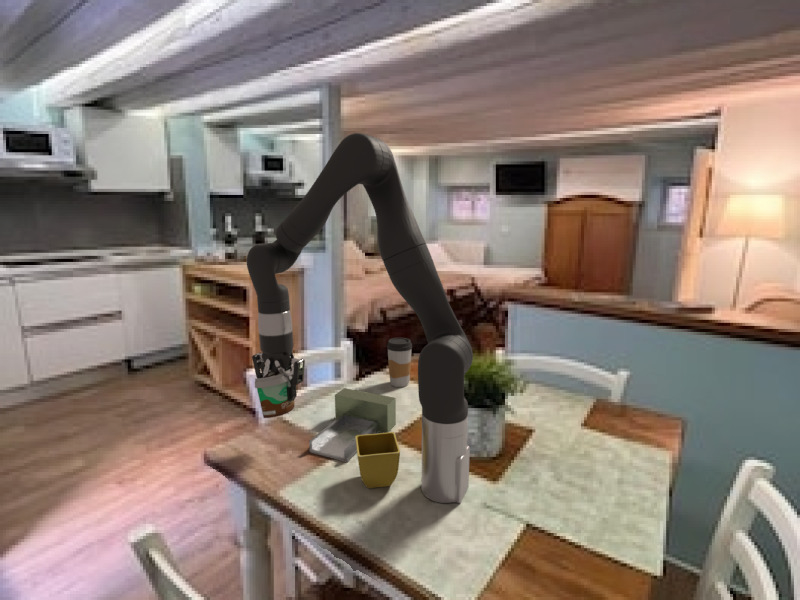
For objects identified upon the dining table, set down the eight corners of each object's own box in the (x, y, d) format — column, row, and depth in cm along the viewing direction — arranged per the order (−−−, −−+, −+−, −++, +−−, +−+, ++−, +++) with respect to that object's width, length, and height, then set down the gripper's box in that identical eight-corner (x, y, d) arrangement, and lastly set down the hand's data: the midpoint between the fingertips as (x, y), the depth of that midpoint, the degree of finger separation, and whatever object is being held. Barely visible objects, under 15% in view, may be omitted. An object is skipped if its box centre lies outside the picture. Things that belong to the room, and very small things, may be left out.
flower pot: (358, 495, 91) (357, 456, 90) (356, 471, 100) (355, 434, 98) (400, 491, 93) (400, 452, 91) (394, 467, 101) (394, 431, 99)
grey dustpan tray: (395, 425, 121) (395, 397, 119) (357, 465, 102) (356, 433, 101) (345, 414, 127) (344, 388, 126) (300, 449, 109) (298, 419, 107)
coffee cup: (417, 383, 149) (417, 340, 146) (400, 390, 143) (400, 346, 140) (399, 377, 155) (399, 335, 152) (382, 384, 149) (381, 341, 146)
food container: (284, 421, 100) (278, 379, 98) (260, 421, 101) (253, 379, 99) (308, 399, 112) (303, 361, 110) (286, 398, 113) (280, 361, 111)
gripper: (311, 328, 103) (315, 396, 107) (262, 323, 109) (267, 387, 113) (290, 337, 97) (295, 409, 100) (240, 331, 102) (246, 399, 106)
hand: (280, 397), depth 106 cm, fingers closed on food container, 5 cm apart
